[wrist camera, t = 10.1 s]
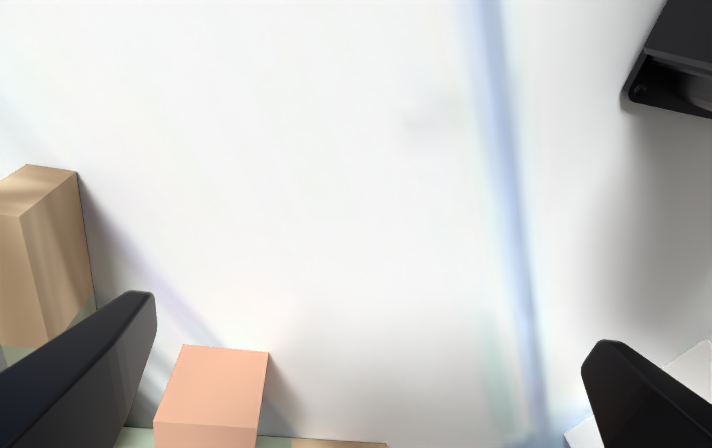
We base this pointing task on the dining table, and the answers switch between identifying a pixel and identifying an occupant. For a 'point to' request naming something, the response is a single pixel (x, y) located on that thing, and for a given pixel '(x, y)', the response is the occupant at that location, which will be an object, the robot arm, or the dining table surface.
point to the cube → (212, 399)
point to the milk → (692, 368)
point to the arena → (62, 278)
